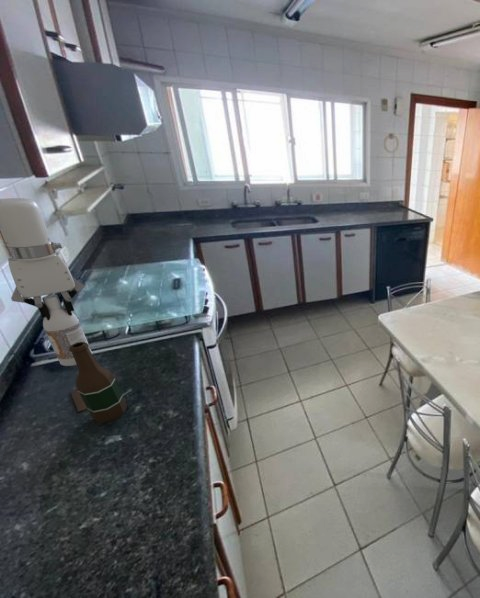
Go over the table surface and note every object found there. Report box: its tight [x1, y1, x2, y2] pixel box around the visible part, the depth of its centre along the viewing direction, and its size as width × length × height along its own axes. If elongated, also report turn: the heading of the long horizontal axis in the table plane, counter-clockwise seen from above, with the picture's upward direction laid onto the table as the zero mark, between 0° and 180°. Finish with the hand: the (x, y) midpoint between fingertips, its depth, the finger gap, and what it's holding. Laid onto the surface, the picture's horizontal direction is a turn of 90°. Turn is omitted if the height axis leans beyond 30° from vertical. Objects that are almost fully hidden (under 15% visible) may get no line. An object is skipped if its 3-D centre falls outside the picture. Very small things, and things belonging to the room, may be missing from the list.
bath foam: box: [41, 294, 93, 367], centre depth 90 cm, size 7×7×20 cm
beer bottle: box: [69, 342, 128, 424], centre depth 90 cm, size 8×8×24 cm
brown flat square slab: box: [70, 375, 117, 413], centre depth 102 cm, size 12×12×1 cm
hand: (59, 315), depth 89 cm, fingers closed on bath foam, 3 cm apart
